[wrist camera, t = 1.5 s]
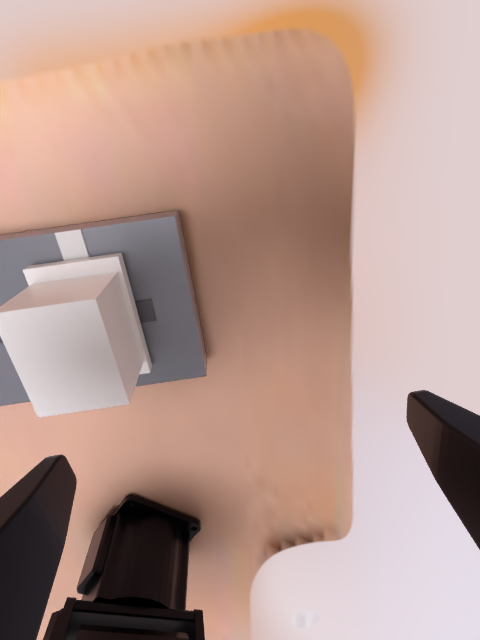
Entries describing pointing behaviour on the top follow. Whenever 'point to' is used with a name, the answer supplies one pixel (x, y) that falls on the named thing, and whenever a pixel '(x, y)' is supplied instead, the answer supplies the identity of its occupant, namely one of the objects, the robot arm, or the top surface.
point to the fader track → (145, 280)
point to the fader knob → (76, 335)
